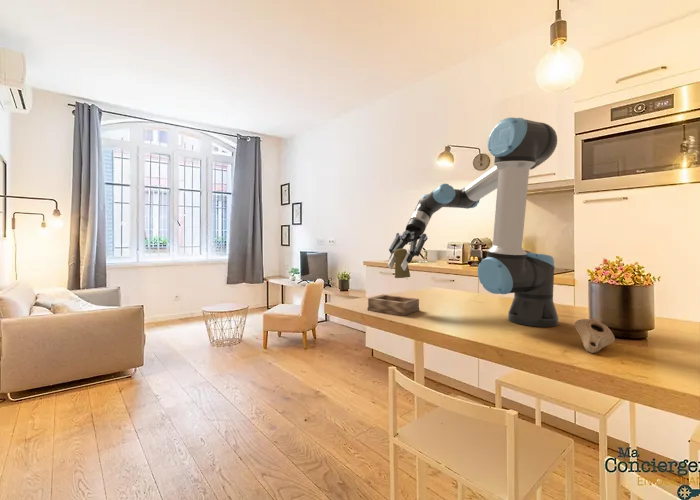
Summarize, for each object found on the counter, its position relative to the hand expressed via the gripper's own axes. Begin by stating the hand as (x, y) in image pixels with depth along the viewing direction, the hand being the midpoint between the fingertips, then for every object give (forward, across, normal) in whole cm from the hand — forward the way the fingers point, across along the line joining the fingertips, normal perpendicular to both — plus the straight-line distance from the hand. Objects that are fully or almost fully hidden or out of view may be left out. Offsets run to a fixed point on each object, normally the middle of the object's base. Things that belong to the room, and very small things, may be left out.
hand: (396, 267), depth 133 cm
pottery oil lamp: (+15, -63, -8) cm, 65 cm away
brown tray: (+12, +1, -12) cm, 17 cm away
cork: (+1, -1, -5) cm, 5 cm away
